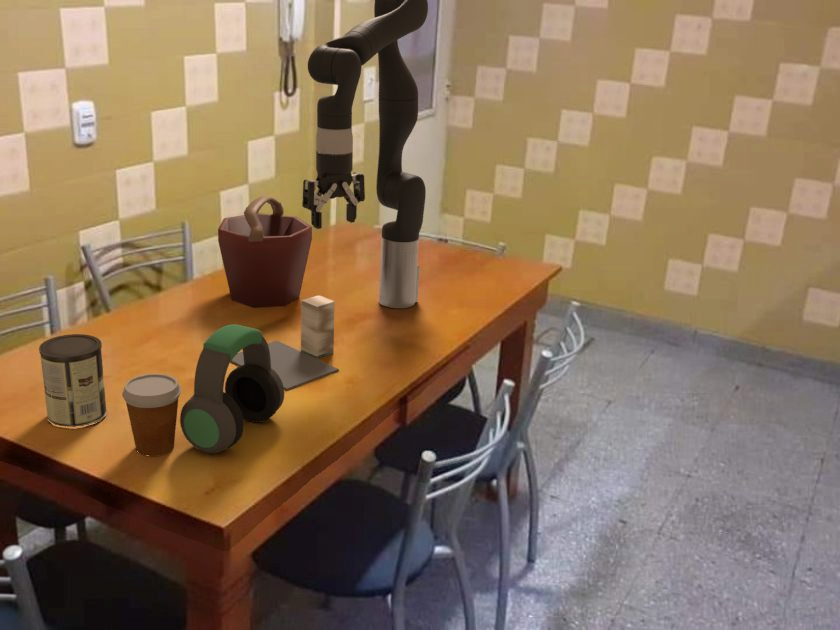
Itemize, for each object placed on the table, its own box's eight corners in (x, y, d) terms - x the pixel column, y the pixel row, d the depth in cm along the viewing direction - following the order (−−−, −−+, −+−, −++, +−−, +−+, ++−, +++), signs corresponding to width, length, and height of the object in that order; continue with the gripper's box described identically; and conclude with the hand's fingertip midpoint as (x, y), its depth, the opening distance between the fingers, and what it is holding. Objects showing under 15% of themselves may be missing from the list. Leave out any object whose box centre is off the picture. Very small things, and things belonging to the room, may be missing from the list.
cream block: (318, 345, 198) (318, 295, 194) (333, 352, 195) (334, 301, 191) (300, 351, 194) (301, 300, 190) (316, 359, 191) (317, 306, 187)
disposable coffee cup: (153, 467, 147) (149, 402, 143) (114, 449, 152) (109, 386, 148) (195, 444, 155) (193, 382, 151) (156, 428, 159) (153, 367, 155)
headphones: (229, 465, 149) (226, 356, 142) (175, 449, 153) (170, 342, 146) (289, 418, 166) (289, 318, 159) (239, 405, 170) (237, 307, 162)
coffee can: (72, 398, 168) (66, 329, 163) (118, 409, 165) (113, 339, 160) (33, 422, 159) (25, 350, 154) (81, 434, 156) (75, 361, 151)
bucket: (275, 319, 211) (275, 217, 202) (196, 303, 218) (193, 203, 209) (324, 289, 232) (325, 195, 223) (250, 275, 239) (249, 183, 230)
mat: (276, 342, 199) (276, 340, 198) (338, 370, 186) (338, 368, 186) (225, 358, 189) (225, 357, 189) (286, 390, 177) (286, 388, 176)
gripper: (352, 142, 190) (351, 215, 196) (294, 149, 182) (295, 225, 188) (373, 148, 185) (371, 224, 191) (315, 156, 176) (315, 234, 182)
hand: (334, 224), depth 189 cm, fingers open, 8 cm apart
